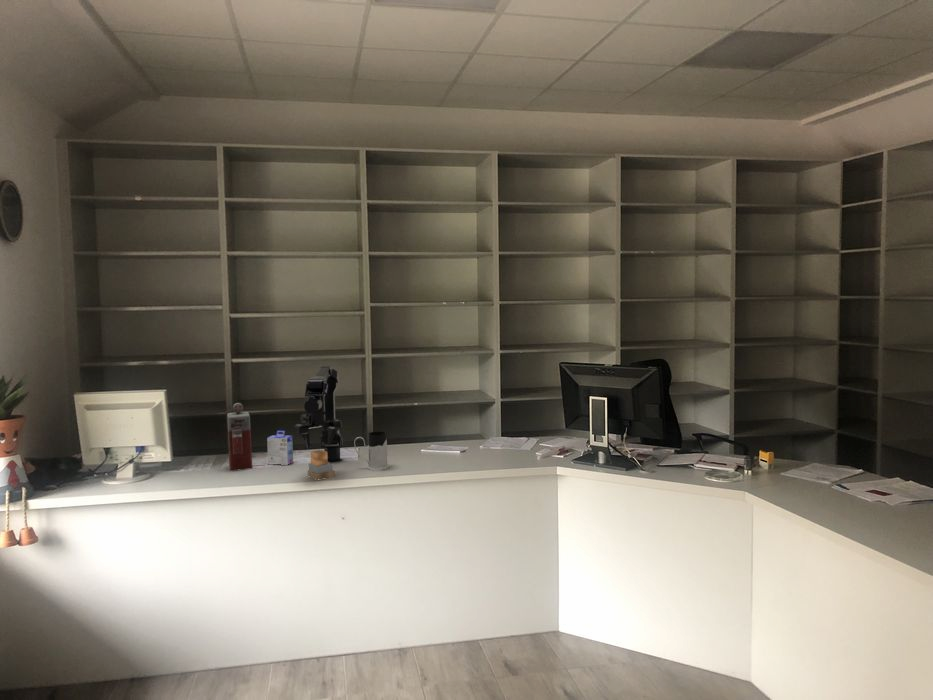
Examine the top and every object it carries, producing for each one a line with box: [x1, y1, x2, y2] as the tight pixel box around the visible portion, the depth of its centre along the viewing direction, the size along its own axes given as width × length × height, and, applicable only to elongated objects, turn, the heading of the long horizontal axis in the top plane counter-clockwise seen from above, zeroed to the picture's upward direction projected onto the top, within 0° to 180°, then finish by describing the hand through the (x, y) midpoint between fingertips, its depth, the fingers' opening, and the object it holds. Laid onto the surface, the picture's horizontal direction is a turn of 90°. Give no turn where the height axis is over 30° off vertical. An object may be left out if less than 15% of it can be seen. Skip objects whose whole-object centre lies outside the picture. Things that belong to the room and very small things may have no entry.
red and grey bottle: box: [226, 402, 253, 471], centre depth 289 cm, size 9×11×28 cm
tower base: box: [307, 469, 335, 481], centre depth 275 cm, size 8×8×3 cm
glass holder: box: [353, 431, 389, 471], centre depth 286 cm, size 9×14×15 cm, turn 99°
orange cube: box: [310, 449, 328, 466], centre depth 274 cm, size 5×5×5 cm
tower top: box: [308, 462, 333, 474], centre depth 274 cm, size 7×7×3 cm
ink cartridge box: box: [266, 430, 294, 466], centre depth 296 cm, size 10×6×14 cm, turn 78°
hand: (318, 446), depth 273 cm, fingers open, 9 cm apart
